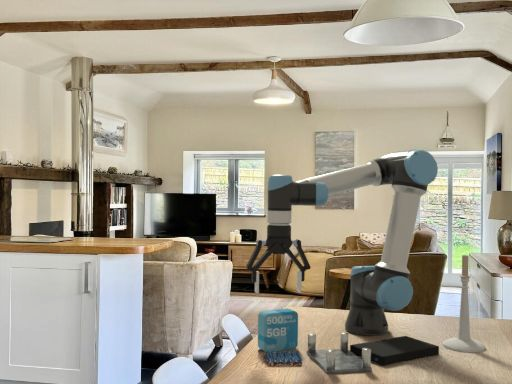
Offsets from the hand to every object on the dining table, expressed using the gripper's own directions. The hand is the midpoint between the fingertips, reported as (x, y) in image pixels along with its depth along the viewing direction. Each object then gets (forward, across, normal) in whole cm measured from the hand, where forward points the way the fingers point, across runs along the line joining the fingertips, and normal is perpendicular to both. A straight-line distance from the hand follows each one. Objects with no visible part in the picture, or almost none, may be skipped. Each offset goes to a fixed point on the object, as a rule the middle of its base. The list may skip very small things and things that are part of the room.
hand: (277, 292), depth 179 cm
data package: (+18, 0, 0) cm, 18 cm away
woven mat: (+18, +1, +12) cm, 22 cm away
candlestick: (+18, -60, +7) cm, 63 cm away
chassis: (+18, -14, +16) cm, 28 cm away
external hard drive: (+18, -34, +11) cm, 40 cm away
